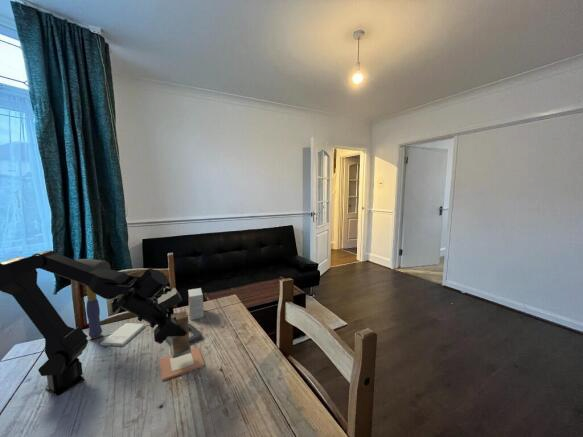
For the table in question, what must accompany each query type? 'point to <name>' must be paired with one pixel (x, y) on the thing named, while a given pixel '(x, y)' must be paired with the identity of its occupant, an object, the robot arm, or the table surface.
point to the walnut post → (181, 342)
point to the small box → (195, 303)
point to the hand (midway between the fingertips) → (184, 330)
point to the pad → (181, 364)
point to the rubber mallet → (94, 299)
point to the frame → (193, 338)
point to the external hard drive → (123, 334)
